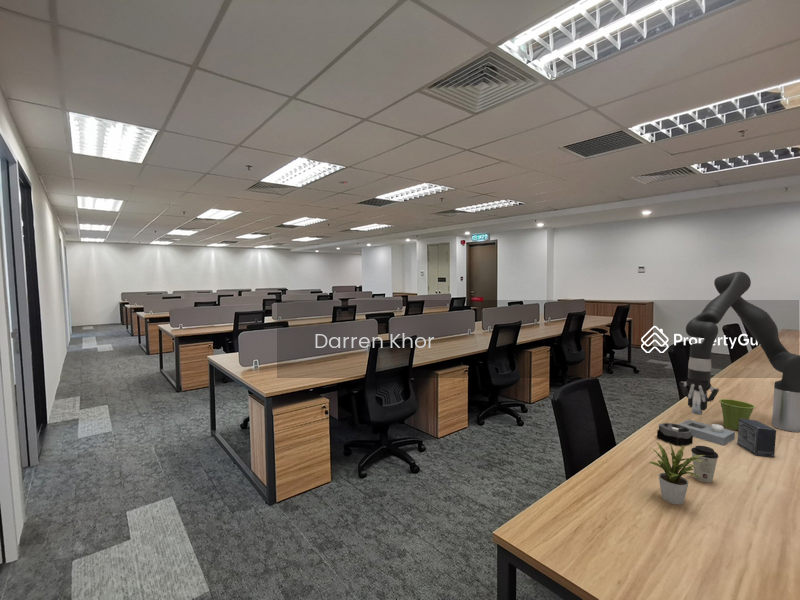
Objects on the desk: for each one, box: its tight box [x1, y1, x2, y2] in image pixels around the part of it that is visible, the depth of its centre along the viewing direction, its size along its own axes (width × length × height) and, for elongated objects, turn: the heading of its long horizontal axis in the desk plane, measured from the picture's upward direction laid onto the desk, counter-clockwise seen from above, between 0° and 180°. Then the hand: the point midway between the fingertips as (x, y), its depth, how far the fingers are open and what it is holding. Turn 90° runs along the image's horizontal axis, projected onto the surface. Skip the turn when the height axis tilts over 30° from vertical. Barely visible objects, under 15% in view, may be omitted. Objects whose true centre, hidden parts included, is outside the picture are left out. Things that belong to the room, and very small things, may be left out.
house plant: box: [648, 441, 705, 506], centre depth 108 cm, size 14×14×16 cm
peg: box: [691, 390, 703, 416], centre depth 160 cm, size 4×4×10 cm
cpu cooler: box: [656, 422, 694, 447], centre depth 152 cm, size 10×6×10 cm
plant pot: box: [718, 398, 756, 431], centre depth 165 cm, size 12×12×11 cm
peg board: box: [676, 419, 736, 446], centre depth 157 cm, size 12×16×5 cm
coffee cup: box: [690, 445, 719, 484], centre depth 122 cm, size 7×7×10 cm
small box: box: [736, 419, 777, 458], centre depth 143 cm, size 11×6×10 cm, turn 168°
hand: (697, 408), depth 160 cm, fingers closed on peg, 3 cm apart
